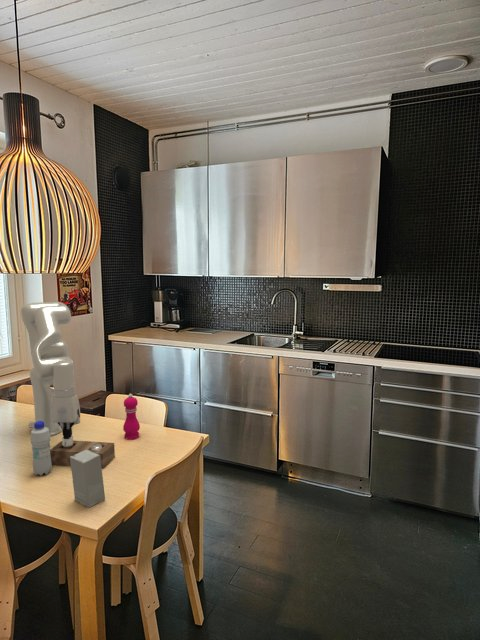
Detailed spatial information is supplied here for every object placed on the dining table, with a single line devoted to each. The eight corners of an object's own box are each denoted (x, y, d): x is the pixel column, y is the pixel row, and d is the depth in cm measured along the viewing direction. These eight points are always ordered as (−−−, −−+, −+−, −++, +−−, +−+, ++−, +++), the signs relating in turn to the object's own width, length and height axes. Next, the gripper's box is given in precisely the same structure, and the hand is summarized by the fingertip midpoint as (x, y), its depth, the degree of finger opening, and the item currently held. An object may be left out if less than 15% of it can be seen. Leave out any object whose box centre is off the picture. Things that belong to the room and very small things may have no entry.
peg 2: (90, 463, 163) (89, 448, 162) (94, 458, 167) (94, 444, 166) (99, 463, 162) (99, 449, 162) (104, 459, 166) (103, 444, 166)
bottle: (39, 479, 152) (36, 426, 149) (29, 474, 155) (25, 422, 152) (56, 471, 157) (53, 420, 155) (45, 467, 161) (42, 416, 158)
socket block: (49, 465, 162) (48, 450, 161) (64, 453, 172) (63, 439, 171) (103, 468, 159) (102, 453, 158) (114, 457, 169) (114, 442, 168)
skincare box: (105, 500, 138) (103, 454, 136) (86, 510, 132) (83, 462, 130) (90, 491, 143) (88, 447, 141) (71, 500, 138) (68, 455, 136)
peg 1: (60, 453, 164) (59, 439, 163) (66, 449, 168) (65, 435, 167) (70, 454, 164) (69, 439, 163) (75, 450, 168) (74, 435, 167)
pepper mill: (142, 434, 192) (140, 391, 189) (136, 440, 185) (135, 396, 182) (127, 433, 193) (125, 391, 190) (121, 439, 186) (119, 396, 183)
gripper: (41, 394, 160) (44, 440, 162) (77, 396, 158) (80, 442, 160) (52, 389, 167) (55, 433, 170) (87, 390, 165) (90, 434, 168)
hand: (67, 437), depth 165 cm, fingers closed
